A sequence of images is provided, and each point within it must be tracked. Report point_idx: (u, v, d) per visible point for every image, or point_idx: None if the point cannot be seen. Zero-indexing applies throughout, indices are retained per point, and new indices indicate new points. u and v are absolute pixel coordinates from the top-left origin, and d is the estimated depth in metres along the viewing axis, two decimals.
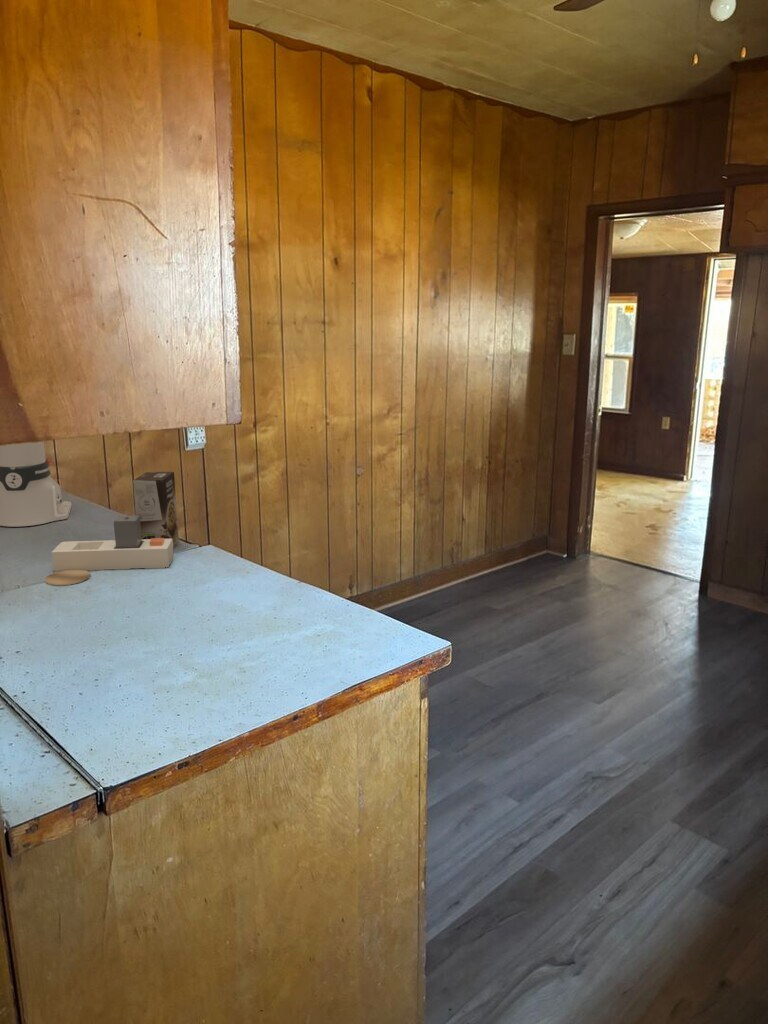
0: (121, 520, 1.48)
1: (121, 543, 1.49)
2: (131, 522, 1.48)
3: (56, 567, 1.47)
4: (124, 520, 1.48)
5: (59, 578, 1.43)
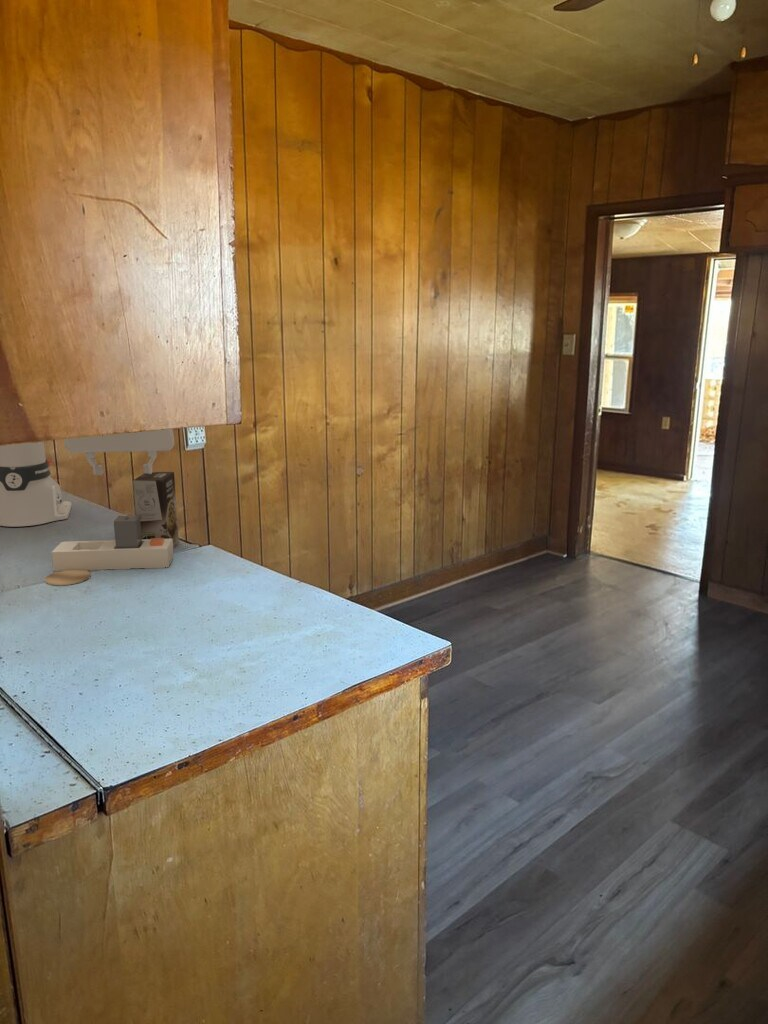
0: (121, 520, 1.48)
1: (121, 543, 1.49)
2: (131, 522, 1.48)
3: (56, 567, 1.47)
4: (124, 520, 1.48)
5: (59, 578, 1.43)
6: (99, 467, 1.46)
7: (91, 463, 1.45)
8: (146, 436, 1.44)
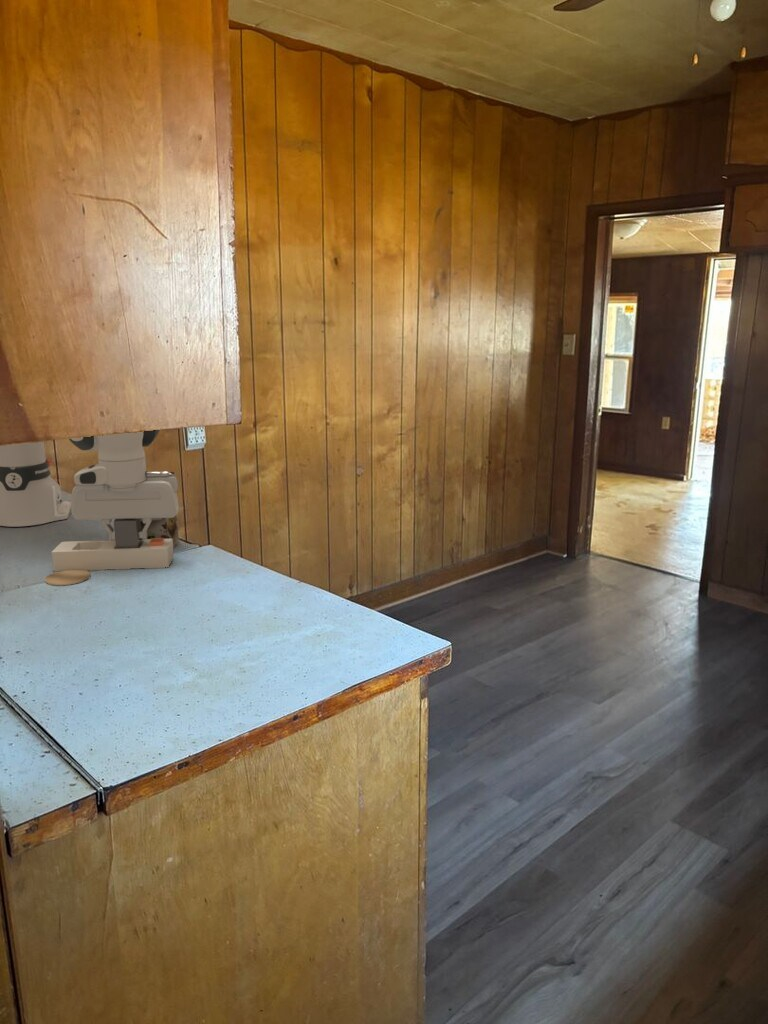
0: (121, 520, 1.48)
1: (121, 543, 1.49)
2: (131, 522, 1.48)
3: (56, 567, 1.47)
4: (124, 520, 1.48)
5: (59, 578, 1.43)
6: None
7: (107, 529, 1.49)
8: (151, 503, 1.48)
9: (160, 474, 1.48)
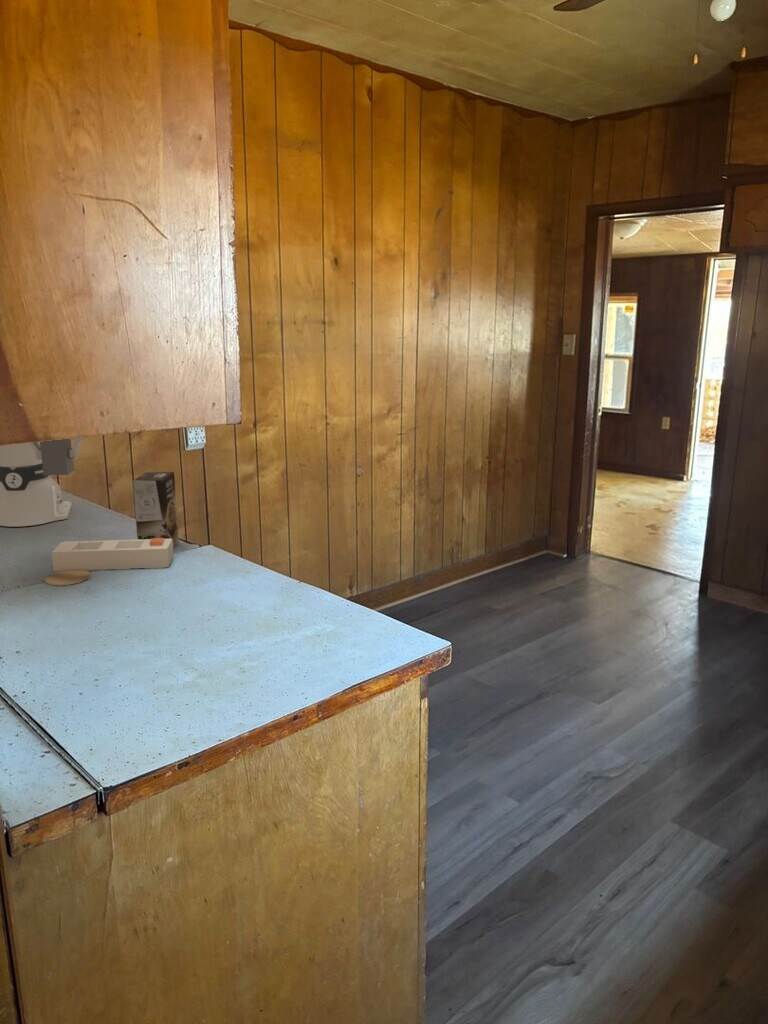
0: None
1: (48, 461, 1.36)
2: None
3: (56, 567, 1.47)
4: None
5: (59, 578, 1.43)
6: None
7: (33, 446, 1.36)
8: None
9: None
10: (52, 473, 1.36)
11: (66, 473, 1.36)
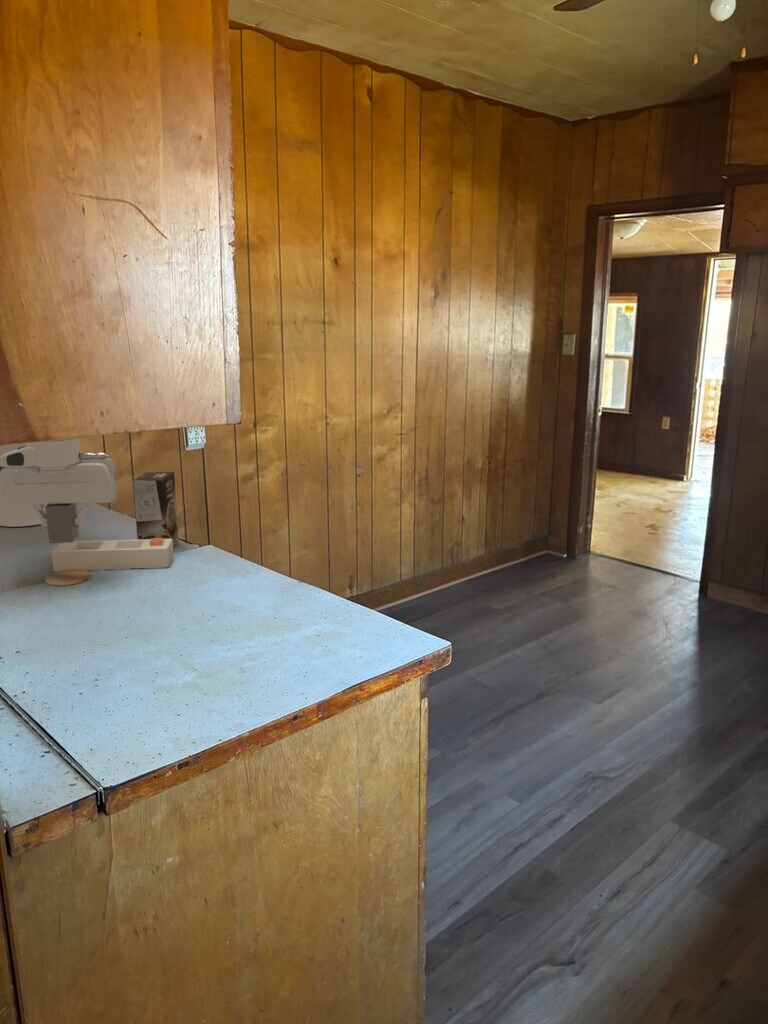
0: (53, 505, 1.38)
1: (54, 530, 1.38)
2: (64, 507, 1.38)
3: (56, 567, 1.47)
4: (57, 505, 1.38)
5: (59, 578, 1.43)
6: None
7: (39, 515, 1.39)
8: (85, 487, 1.38)
9: (95, 455, 1.38)
10: (58, 541, 1.39)
11: (71, 541, 1.39)
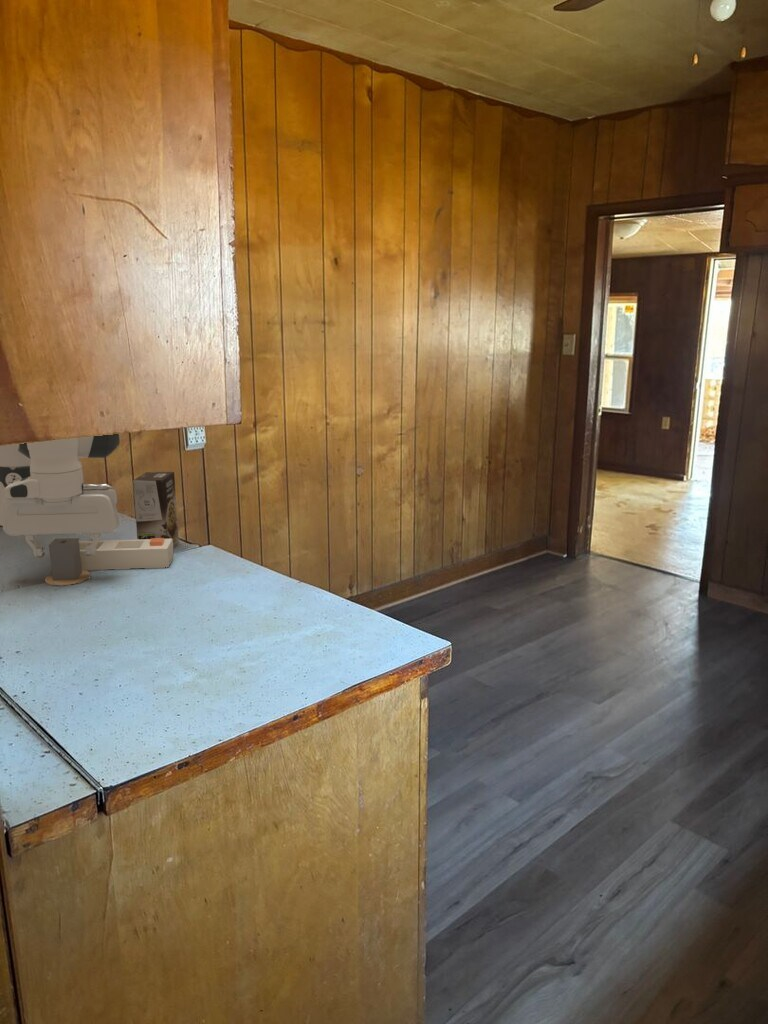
0: (57, 544, 1.40)
1: (57, 567, 1.41)
2: (67, 546, 1.40)
3: None
4: (60, 544, 1.40)
5: None
6: (40, 549, 1.41)
7: (31, 545, 1.40)
8: (88, 518, 1.39)
9: (97, 486, 1.39)
10: (61, 578, 1.41)
11: (74, 578, 1.41)
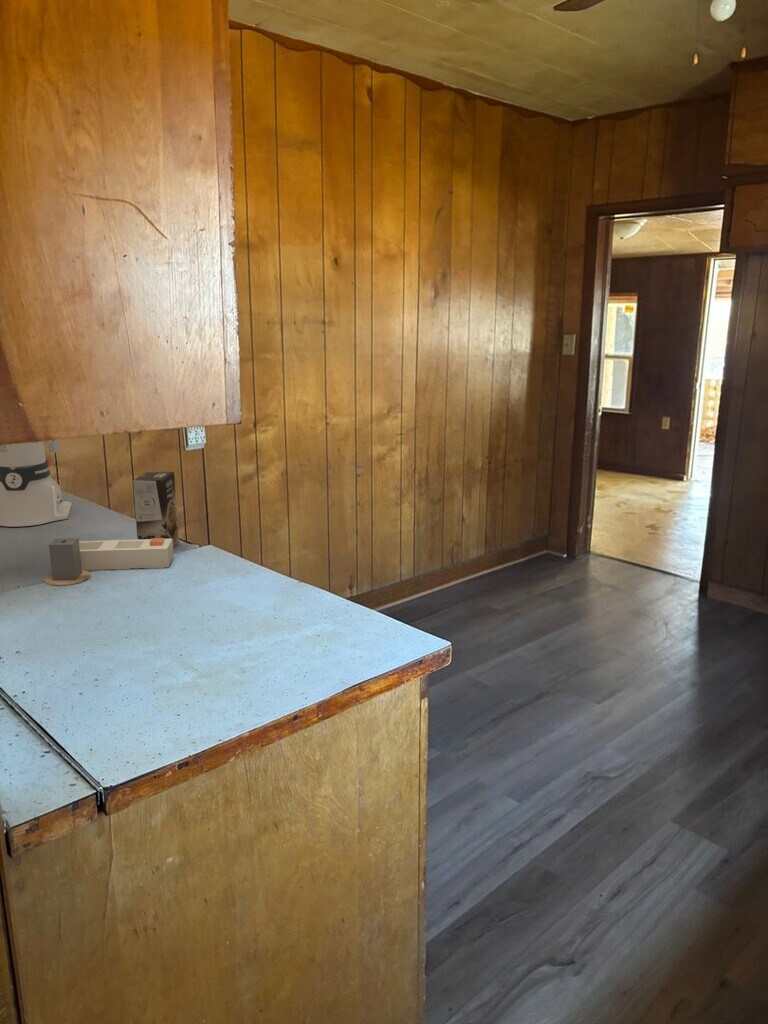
0: (57, 544, 1.40)
1: (57, 567, 1.41)
2: (67, 546, 1.40)
3: None
4: (60, 544, 1.40)
5: None
6: None
7: None
8: None
9: None
10: (61, 578, 1.41)
11: (74, 578, 1.41)
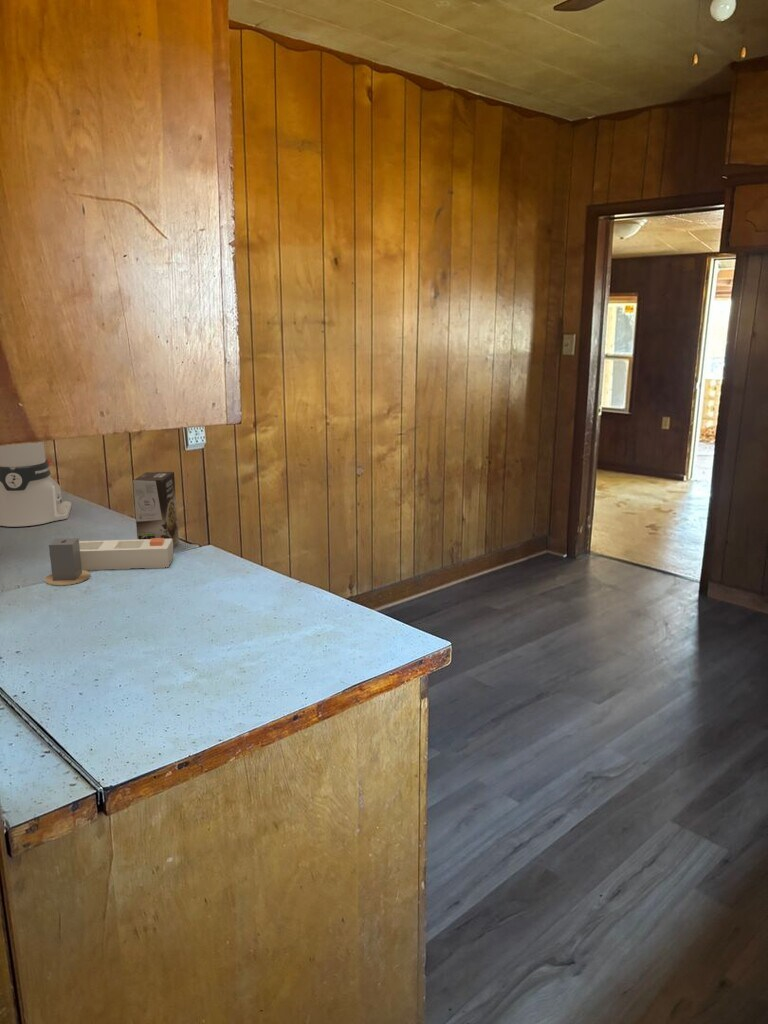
0: (57, 544, 1.40)
1: (57, 567, 1.41)
2: (67, 546, 1.40)
3: None
4: (60, 544, 1.40)
5: None
6: None
7: None
8: None
9: None
10: (61, 578, 1.41)
11: (74, 578, 1.41)
